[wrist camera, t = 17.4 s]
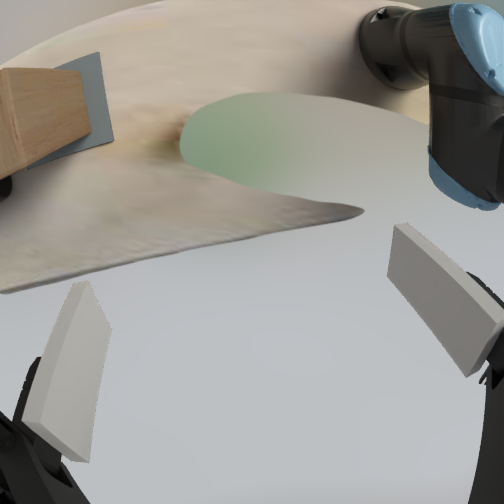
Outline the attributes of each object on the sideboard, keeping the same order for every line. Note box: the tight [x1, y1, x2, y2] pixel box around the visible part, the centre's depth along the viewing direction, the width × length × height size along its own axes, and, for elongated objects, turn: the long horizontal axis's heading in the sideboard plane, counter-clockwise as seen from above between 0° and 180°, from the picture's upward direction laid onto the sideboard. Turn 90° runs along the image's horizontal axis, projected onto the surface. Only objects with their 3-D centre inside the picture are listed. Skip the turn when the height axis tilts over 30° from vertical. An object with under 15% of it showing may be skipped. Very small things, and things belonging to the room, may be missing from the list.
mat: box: [27, 52, 114, 169], centre depth 34 cm, size 16×14×1 cm
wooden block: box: [0, 68, 92, 180], centre depth 26 cm, size 10×10×20 cm
